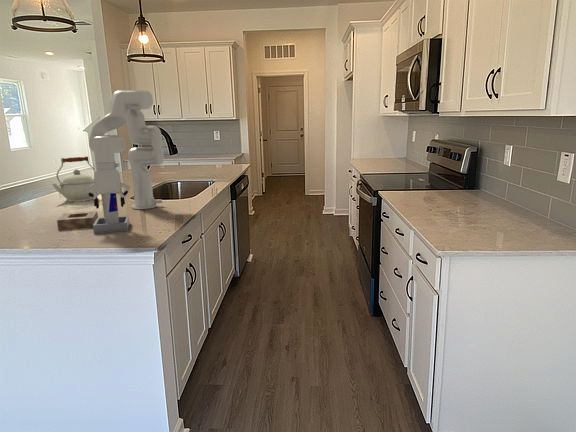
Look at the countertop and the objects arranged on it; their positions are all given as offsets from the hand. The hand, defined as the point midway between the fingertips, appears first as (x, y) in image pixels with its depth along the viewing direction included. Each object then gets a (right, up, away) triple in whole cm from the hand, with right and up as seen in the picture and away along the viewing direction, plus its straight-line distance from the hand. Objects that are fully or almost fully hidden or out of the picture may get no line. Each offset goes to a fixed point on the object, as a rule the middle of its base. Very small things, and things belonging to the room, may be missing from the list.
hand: (110, 207), depth 170 cm
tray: (0, -9, +2) cm, 9 cm away
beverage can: (0, -8, +2) cm, 9 cm away
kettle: (-48, +5, +66) cm, 82 cm away
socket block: (-18, -7, +10) cm, 22 cm away
